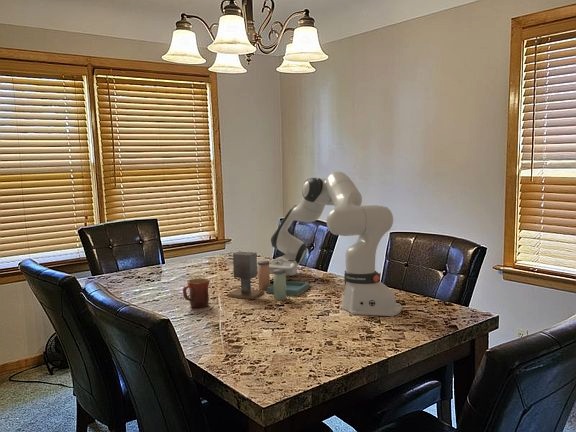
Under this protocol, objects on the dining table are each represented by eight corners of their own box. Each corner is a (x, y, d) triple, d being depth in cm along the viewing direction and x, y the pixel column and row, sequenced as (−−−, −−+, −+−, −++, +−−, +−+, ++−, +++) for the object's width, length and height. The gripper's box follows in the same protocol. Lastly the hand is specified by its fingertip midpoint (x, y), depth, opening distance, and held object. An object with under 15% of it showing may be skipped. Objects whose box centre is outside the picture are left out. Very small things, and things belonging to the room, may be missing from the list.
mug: (200, 301, 196) (199, 277, 195) (215, 305, 191) (214, 279, 189) (177, 309, 186) (175, 283, 185) (192, 313, 181) (191, 286, 180)
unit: (264, 293, 206) (262, 252, 204) (253, 299, 197) (251, 256, 195) (239, 290, 211) (238, 250, 209) (227, 296, 202) (226, 254, 200)
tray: (309, 287, 214) (309, 282, 214) (297, 296, 201) (296, 290, 201) (280, 285, 220) (280, 280, 219) (267, 292, 207) (267, 287, 207)
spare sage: (288, 297, 199) (287, 269, 198) (283, 301, 194) (282, 272, 193) (277, 296, 201) (276, 268, 200) (271, 299, 196) (270, 271, 195)
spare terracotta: (271, 287, 217) (271, 260, 215) (266, 289, 212) (266, 263, 210) (261, 286, 219) (260, 260, 217) (256, 288, 214) (255, 262, 213)
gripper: (260, 258, 234) (247, 264, 221) (299, 261, 225) (287, 267, 213) (261, 271, 235) (247, 277, 222) (299, 274, 226) (287, 281, 214)
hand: (267, 272), depth 217 cm, fingers open, 8 cm apart
